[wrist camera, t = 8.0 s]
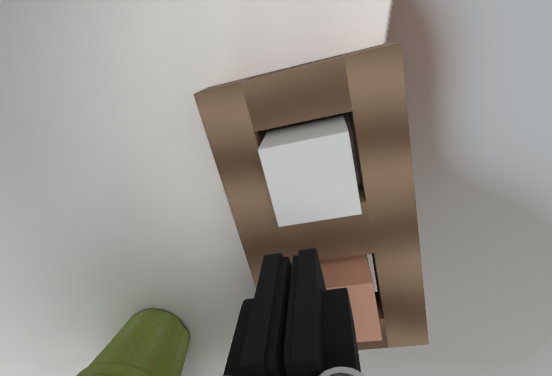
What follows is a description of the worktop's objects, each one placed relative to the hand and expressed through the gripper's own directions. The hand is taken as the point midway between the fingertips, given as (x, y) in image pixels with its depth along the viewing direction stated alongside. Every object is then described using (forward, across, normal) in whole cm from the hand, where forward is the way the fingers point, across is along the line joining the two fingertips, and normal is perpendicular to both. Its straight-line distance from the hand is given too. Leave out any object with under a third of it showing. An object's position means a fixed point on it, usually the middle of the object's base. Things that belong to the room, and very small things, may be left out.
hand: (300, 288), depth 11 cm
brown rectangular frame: (+14, 0, +5) cm, 15 cm away
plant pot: (+15, +18, +15) cm, 28 cm away
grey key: (+13, 0, 0) cm, 13 cm away
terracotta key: (+13, 0, +10) cm, 17 cm away
